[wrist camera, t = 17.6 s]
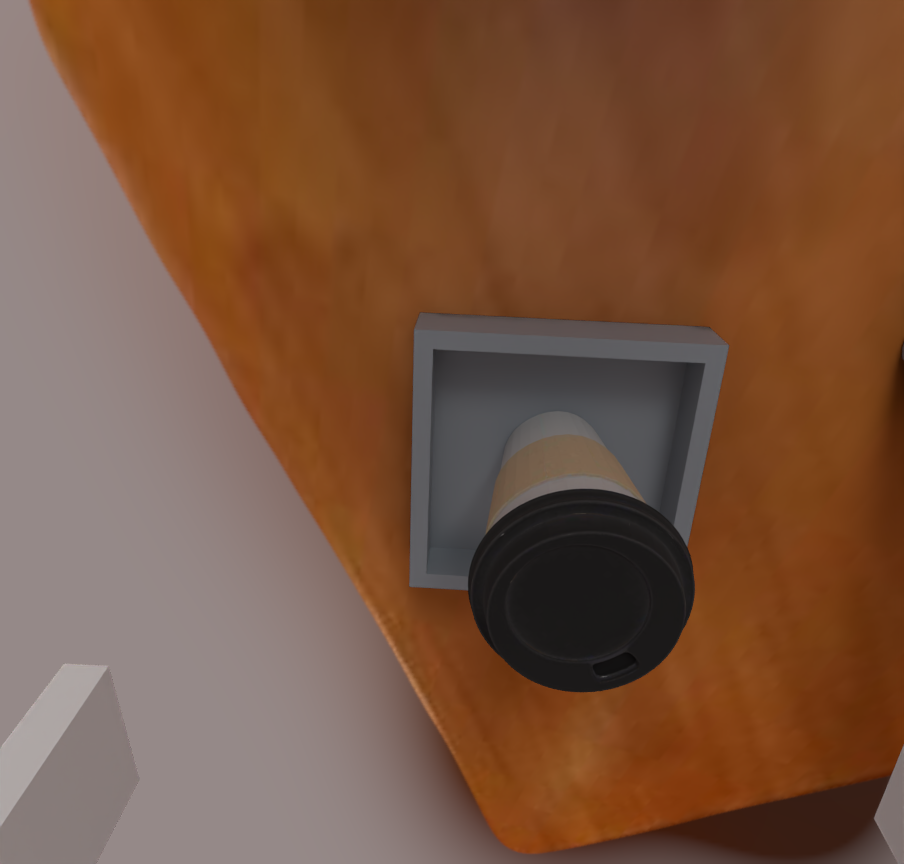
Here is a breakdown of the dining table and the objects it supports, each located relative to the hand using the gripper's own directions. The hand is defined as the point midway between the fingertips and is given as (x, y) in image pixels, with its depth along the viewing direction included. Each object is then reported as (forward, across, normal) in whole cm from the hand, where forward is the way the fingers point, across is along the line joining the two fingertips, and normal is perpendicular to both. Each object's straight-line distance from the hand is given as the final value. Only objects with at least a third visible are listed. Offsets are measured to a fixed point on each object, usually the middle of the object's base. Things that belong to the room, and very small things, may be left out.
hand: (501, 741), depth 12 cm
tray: (+29, +4, -9) cm, 31 cm away
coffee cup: (+29, +4, -9) cm, 31 cm away
